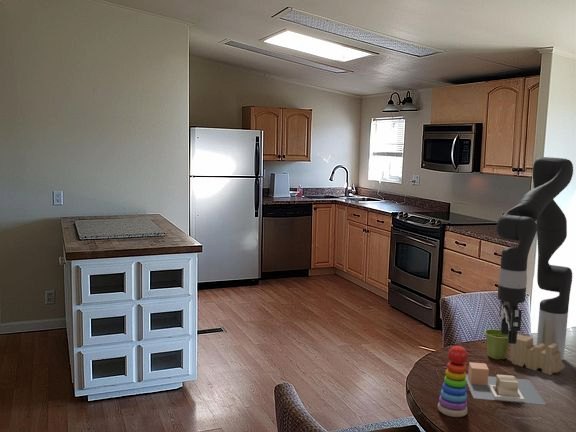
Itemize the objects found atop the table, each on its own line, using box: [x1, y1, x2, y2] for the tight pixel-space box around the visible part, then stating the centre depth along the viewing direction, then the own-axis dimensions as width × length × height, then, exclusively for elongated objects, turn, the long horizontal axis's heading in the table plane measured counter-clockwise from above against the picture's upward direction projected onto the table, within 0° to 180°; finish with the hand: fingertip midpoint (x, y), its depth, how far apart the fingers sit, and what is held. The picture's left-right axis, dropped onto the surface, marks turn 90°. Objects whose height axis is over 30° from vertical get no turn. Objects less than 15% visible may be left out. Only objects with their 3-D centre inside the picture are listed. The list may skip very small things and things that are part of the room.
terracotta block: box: [467, 361, 490, 385], centre depth 173 cm, size 5×5×5 cm
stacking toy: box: [437, 345, 468, 418], centre depth 153 cm, size 8×8×19 cm
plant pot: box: [484, 328, 510, 360], centre depth 198 cm, size 9×9×9 cm
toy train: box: [509, 333, 566, 376], centre depth 186 cm, size 6×17×10 cm, turn 44°
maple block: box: [495, 374, 518, 397], centre depth 163 cm, size 5×5×5 cm
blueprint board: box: [465, 373, 547, 406], centre depth 168 cm, size 18×20×2 cm
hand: (508, 338), depth 163 cm, fingers open, 8 cm apart
